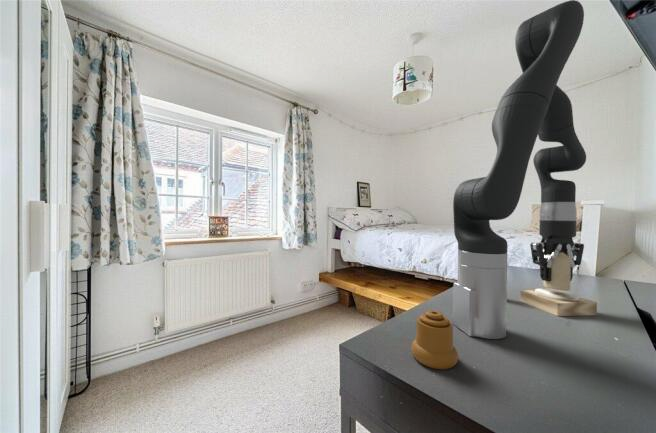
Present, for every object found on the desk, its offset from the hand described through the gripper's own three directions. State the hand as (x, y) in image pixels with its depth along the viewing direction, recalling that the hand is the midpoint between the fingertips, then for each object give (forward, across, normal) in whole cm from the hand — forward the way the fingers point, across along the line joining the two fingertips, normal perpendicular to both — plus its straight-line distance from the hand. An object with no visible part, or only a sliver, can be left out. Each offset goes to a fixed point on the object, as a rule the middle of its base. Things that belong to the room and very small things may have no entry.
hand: (556, 280), depth 70 cm
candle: (+2, 0, 0) cm, 2 cm away
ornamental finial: (+8, -46, -22) cm, 52 cm away
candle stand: (+8, 0, 0) cm, 8 cm away
